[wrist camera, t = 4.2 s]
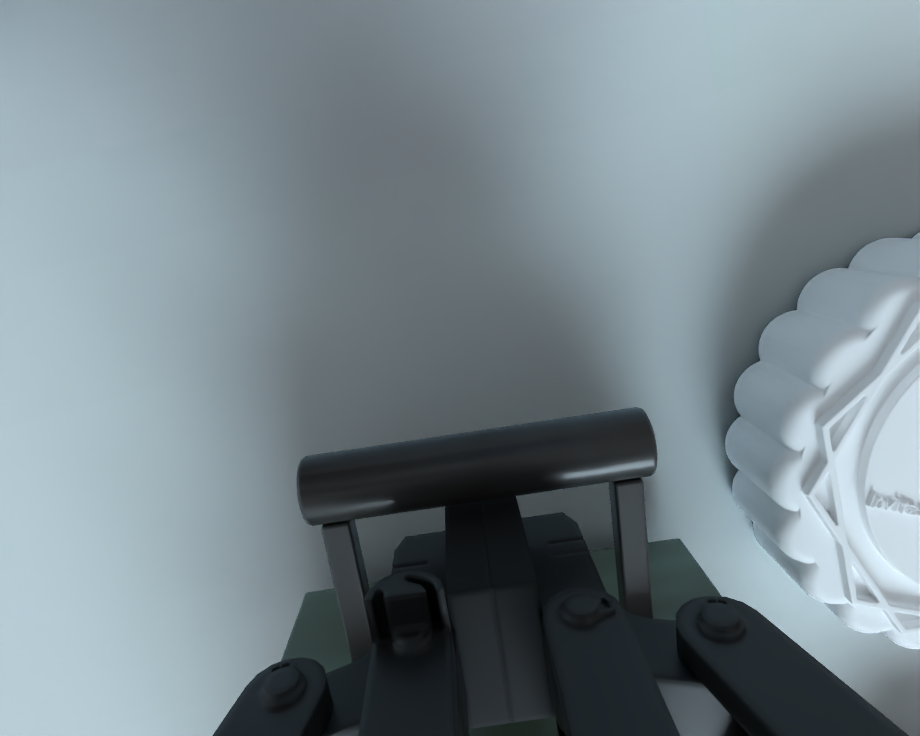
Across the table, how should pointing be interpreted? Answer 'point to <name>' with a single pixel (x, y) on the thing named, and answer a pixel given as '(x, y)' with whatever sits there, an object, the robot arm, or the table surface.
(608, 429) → the drawer
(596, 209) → the table surface
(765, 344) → the mooncake
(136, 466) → the table surface
